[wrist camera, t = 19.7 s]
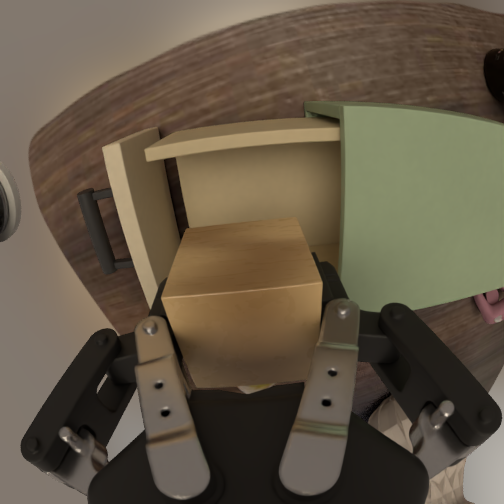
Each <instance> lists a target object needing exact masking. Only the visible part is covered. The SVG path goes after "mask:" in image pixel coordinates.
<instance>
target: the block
mask: <svg viewBox="0 0 504 504" xmlns="http://www.w3.org/2000/svg"><path fill="white" fill-rule="evenodd" d="M322 289H323V282H322V279H321V277H320V274H319V272H318V269H317V266H316V264H315V261H314V259H313V256H312V254H311V251H310V249H309V246H308V244H307V241H306V239H305V236H304V234H303V231H302V229H301V227H300V224H299V222H298V219H297V217H288V218H278V219H268V220H258V221H248V222H239V223H230V224H221V225H212V226H203V227H195V228H187V229H186V230H185V232H184V235H183V238H182V240H181V243H180V246H179V248H178V251H177V254H176V256H175V259H174V262H173V265H172V267H171V270H170V273H169V276H168V279H167V281H166V284H165V287H164V290H163V293H162V296H161V300H162V303H163V305H164V308H165V311H166V314H167V316H168V319H169V322H170V325H171V327H172V330H173V332H174V335H175V338H176V340H177V343H178V345H179V348H180V350H181V353H182V355H183V358H184V360H185V362H186V365H187V367H188V369H189V372H190V374H191V376H192V379H193V381H194V383H195V386H196V388H214V387H235V386H250V385H262V384H273V383H282V382H291V381H299V380H306V379H307V376H308V373H309V369H310V365H311V361H312V357H313V353H314V348H315V344H316V342H318V339H319V335H320V323H321V308H322Z"/></svg>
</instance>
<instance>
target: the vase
mask: <svg viewBox="0 0 504 504" xmlns="http://www.w3.org/2000/svg"><path fill="white" fill-rule="evenodd" d="M368 424H370V425H371V426H373V427H374V428H376V429H377V430H378V431H380V432H381V433H383V434H384V435H386V436H387V437H389V438H390V439H392V440H393V441H395V442H396V443H398V444H399V445H401V446H402V447H404V448H405V449H407V450H408V451H410V452H411V453H413V447H412V443H411V441H410V439H409V430H410V427H411V425H412V423H411V421H410V420H409V419H408V417H407V416H406V414H405V413H404V411H403V410H402V408H401V407H400V406H399V404H398V403H397V401H396V400H395V398H394V397H393V395H391V396H390V397H388V398H387V399H385V400H384V401H383V402H382V403H381V404H380V406H379V407H378V408H377V409H376V410H375V411H374V412H373V414H372V415H371V416H370V418H369V421H368ZM465 462H466V458H464V459H463V460H462V461H461V462H459V463H458V464H457V465H455V466H452V467H447V468H446V469H444V470H443V471H442V472H440V473H439V474H437V475H436V476H435V477H433V478H432V479H430V480H429V491H428V495H427V498H426V502H425V504H474V503H472V502H469V501H467V500H466V499H465V498H464V495H463V474H464V465H465Z"/></svg>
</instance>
